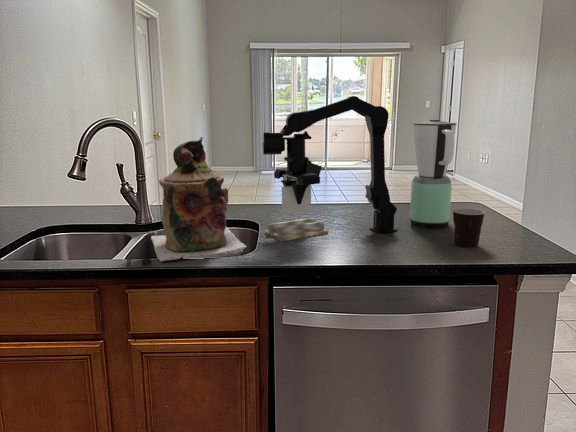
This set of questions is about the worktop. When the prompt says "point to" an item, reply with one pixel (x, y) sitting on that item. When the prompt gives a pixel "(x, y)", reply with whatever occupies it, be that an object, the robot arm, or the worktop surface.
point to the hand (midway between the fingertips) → (296, 203)
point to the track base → (296, 229)
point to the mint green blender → (432, 173)
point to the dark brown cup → (467, 227)
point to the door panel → (290, 200)
